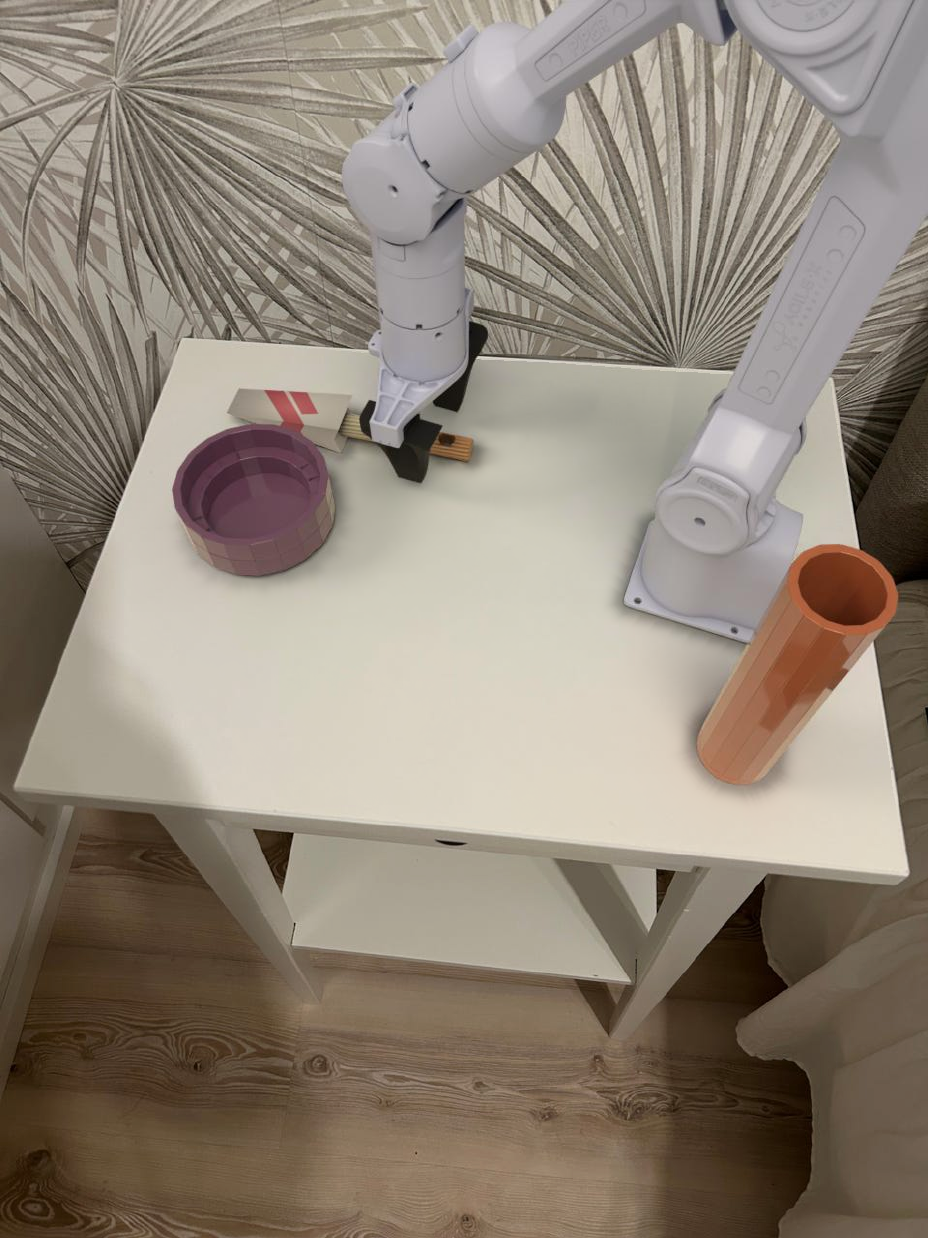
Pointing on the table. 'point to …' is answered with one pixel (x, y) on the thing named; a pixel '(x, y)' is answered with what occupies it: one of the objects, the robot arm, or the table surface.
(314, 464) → the bowl
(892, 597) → the vase
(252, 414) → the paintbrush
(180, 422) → the table surface
